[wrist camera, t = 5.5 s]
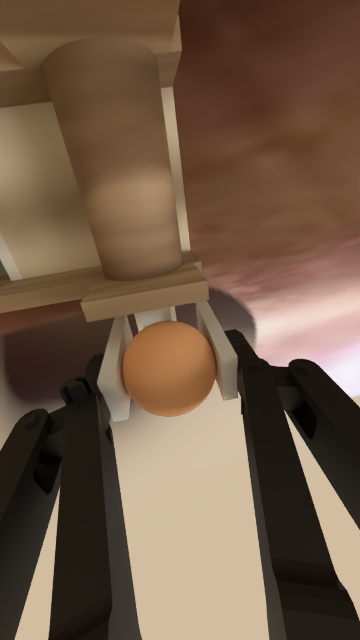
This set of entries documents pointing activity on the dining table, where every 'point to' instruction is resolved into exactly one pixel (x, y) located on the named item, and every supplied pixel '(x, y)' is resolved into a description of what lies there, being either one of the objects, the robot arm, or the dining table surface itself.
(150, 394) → the ball
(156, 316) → the grey egg cup
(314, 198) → the dining table surface
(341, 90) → the dining table surface
